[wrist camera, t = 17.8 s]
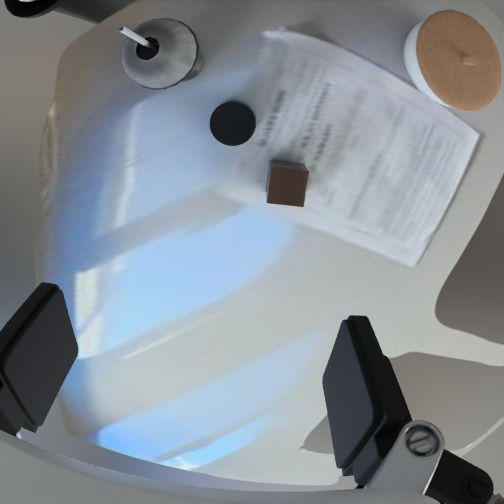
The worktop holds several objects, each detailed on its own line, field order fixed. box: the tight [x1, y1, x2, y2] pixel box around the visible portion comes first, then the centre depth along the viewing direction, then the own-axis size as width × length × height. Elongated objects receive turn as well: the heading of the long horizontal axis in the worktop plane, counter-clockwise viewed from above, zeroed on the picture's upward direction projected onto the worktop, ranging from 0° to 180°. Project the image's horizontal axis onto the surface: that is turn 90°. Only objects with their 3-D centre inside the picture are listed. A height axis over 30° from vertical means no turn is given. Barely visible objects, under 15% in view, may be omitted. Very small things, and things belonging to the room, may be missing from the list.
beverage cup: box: [118, 18, 203, 90], centre depth 26 cm, size 7×7×20 cm
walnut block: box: [266, 160, 309, 207], centre depth 40 cm, size 4×4×4 cm
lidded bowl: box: [403, 10, 502, 112], centre depth 29 cm, size 13×13×11 cm
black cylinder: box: [210, 101, 256, 146], centre depth 36 cm, size 5×5×6 cm
